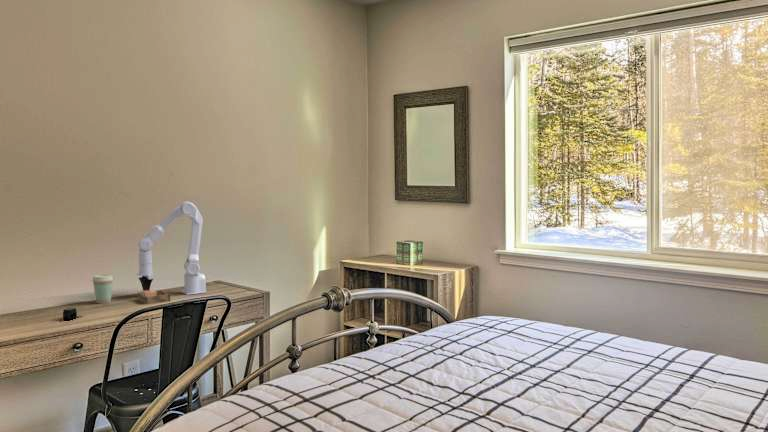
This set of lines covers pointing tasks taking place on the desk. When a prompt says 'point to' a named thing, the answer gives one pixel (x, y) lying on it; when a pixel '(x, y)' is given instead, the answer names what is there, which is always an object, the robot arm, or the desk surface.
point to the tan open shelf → (154, 298)
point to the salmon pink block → (149, 293)
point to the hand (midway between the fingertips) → (146, 292)
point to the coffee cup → (103, 288)
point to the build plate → (69, 314)
